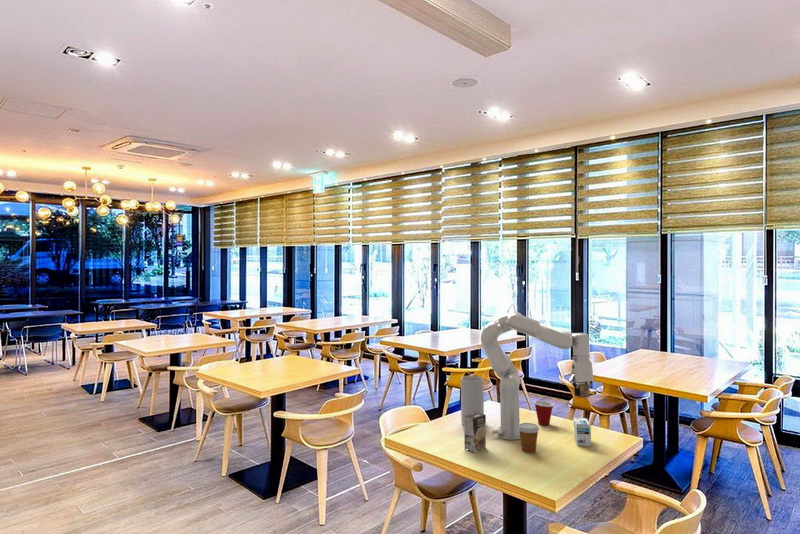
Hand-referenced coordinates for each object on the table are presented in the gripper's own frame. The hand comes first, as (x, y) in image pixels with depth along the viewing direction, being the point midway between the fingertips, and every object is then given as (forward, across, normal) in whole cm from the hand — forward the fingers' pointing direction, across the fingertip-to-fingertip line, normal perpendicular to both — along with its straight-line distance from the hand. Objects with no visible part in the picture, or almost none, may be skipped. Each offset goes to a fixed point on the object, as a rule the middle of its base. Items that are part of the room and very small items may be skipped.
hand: (581, 394), depth 244 cm
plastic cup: (+24, 0, +31) cm, 39 cm away
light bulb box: (+24, 0, 0) cm, 24 cm away
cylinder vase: (+24, -36, +47) cm, 64 cm away
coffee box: (+24, -53, +12) cm, 59 cm away
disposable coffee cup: (+24, -31, 0) cm, 39 cm away
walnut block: (+1, 0, 0) cm, 1 cm away
